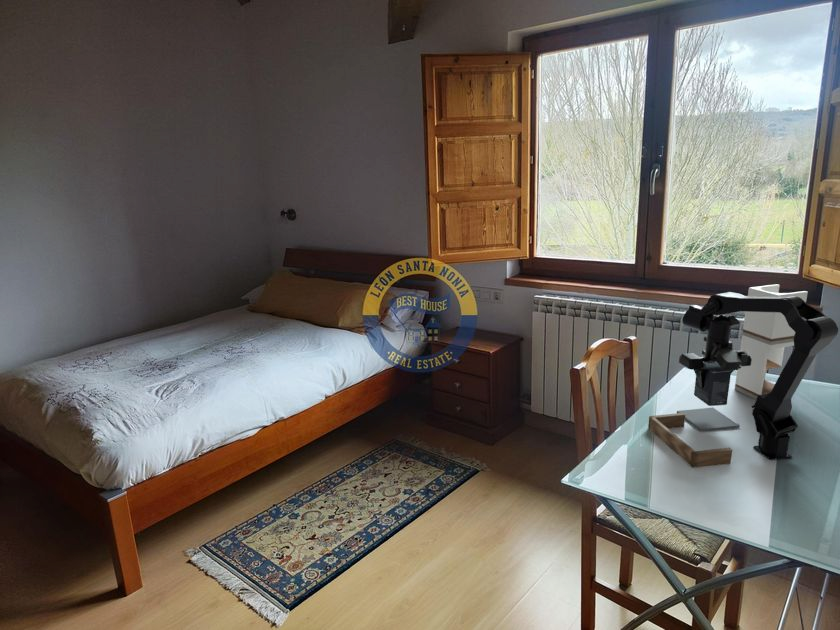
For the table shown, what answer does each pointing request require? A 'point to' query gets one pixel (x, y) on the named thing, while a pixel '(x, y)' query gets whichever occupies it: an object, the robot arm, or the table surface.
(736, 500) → the table surface
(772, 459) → the robot arm
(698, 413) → the slate mat
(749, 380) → the display case
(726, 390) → the box
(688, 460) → the frame
